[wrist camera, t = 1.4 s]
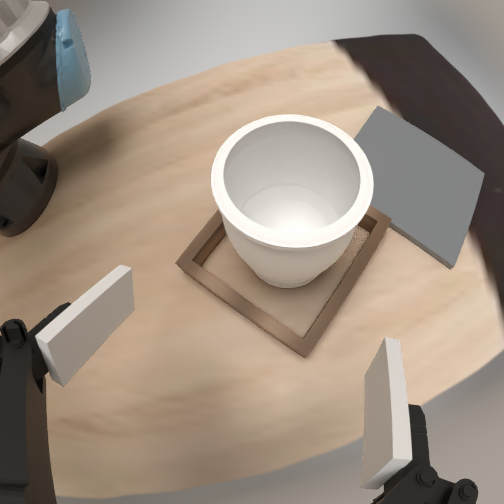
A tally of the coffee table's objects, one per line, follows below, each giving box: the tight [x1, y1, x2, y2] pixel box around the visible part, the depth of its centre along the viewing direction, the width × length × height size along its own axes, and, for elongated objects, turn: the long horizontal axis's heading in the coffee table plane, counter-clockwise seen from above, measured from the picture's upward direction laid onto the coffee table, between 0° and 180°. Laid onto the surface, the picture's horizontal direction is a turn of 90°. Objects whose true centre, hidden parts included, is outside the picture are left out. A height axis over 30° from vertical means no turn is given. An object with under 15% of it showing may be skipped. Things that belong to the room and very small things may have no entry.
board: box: [354, 106, 484, 269], centre depth 35 cm, size 18×16×1 cm
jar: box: [211, 115, 374, 288], centre depth 27 cm, size 11×10×15 cm
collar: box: [176, 205, 392, 358], centre depth 32 cm, size 15×16×3 cm
